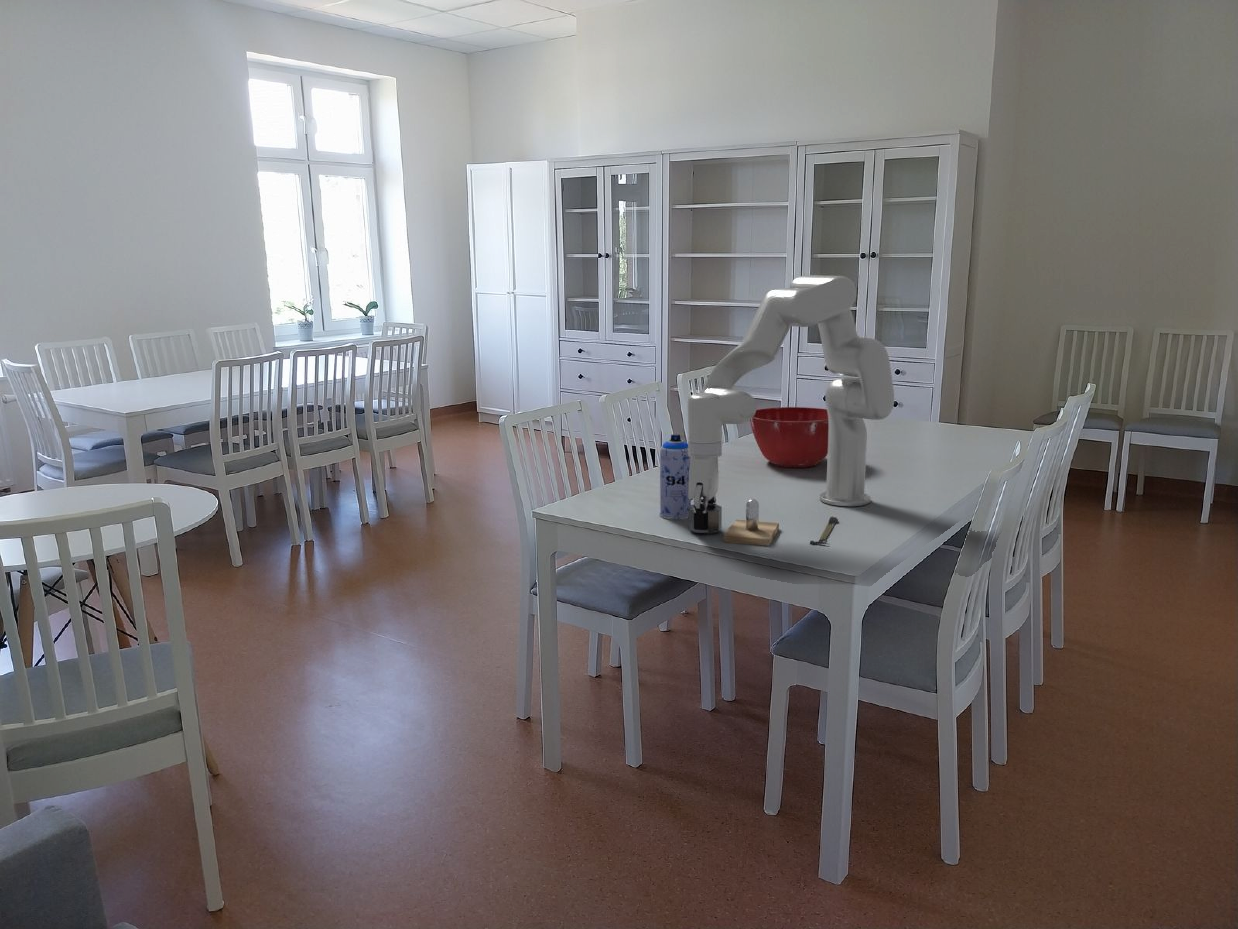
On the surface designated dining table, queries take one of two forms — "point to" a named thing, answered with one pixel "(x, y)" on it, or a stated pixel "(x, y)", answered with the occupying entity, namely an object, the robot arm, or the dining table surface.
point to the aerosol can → (674, 479)
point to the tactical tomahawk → (826, 532)
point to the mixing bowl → (791, 435)
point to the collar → (713, 518)
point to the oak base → (751, 533)
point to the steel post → (752, 515)
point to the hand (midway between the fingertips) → (705, 524)
